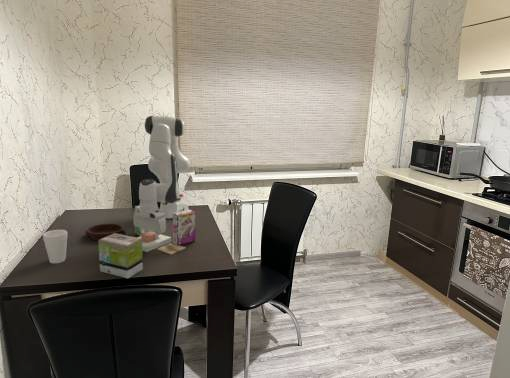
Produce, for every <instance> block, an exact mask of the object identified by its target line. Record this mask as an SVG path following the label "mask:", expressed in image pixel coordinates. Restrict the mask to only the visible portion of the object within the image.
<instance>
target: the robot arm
mask: <svg viewBox="0 0 510 378" xmlns="http://www.w3.org/2000/svg"><path fill="white" fill-rule="evenodd" d="M144 131H145V132H146V133H147V134H149V136H150V138H149V143H148V152H149V155H150V156H151V157H149V158H150V159H149V160H148V164H147V166H148V169H149V171H150V172H151V173H153V175H155V176H156V177H157V179H158V181H159V183H158V182H157V181H156V180H155V179H154V178H153V179H151V178H146V179H143V180H141V181H140V183H139V187H138V188H139V189H138V199H139V206H140V210H139V209H136V210H135V209H134V214H133V221H132V223H133V226H134V227H135V226H136V227H139V230H140V232H141V235H143V234H146V233H145V232H144V229H147V230H150V231H152V232H155V234H156V236H154V239H155V240H158V239H159V235H160V234H162V233H165V232H166V230H167V219H173V213H178V212H183V211H188V210H190V209H189V204H188V203H187V202H186V201H184V200H183V199H182V198H183V197H184V194H183V193H181V192H180V186H179V185H180V183H179V178H178V177H179V176H178V174H184V173H187V172H188V171H189V170H190V168H191V162H190V159H189V158H188V157H187V156H185V154H184V155H183V153H182V152H181V150H180V149H179V143H178V142H179V140H178V139H179V137H181V136H182V135H184V132H185V131H186V125H185V121H184V119H182V118H179V117H173V116H169V115H167V116H163V115H160V116H159V115H156V116H155V115H149V116H147V117H146V119H145V121H144ZM158 203H160V208H159V205H158Z"/></svg>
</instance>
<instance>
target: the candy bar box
mask: <svg viewBox="0 0 510 378" xmlns="http://www.w3.org/2000/svg"><path fill="white" fill-rule="evenodd" d="M196 213H197V212H196V211H193V210H192V209H189V210H188V211H183V212H178V213H173V218H172V243H173V244H176V245H180V246H183V245H186V244H189V243H193V242H195V241H196V215H197V214H196Z"/></svg>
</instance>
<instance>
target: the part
mask: <svg viewBox="0 0 510 378" xmlns="http://www.w3.org/2000/svg"><path fill="white" fill-rule="evenodd" d="M154 236H156V234H155V232H154V231H151V232H148V233H146V234H143V235H141V239H142V242H145V243H149V242H152V241H155V239H154Z"/></svg>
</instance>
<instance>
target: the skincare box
mask: <svg viewBox="0 0 510 378" xmlns="http://www.w3.org/2000/svg"><path fill="white" fill-rule="evenodd" d="M136 209H139V210H140V205H135V206H134V211H135V210H136ZM134 231H135V232H134V233H135V234H137V235H138V236H139V237H140V236H141V232H140V230H139V227H136V226H134ZM144 232H145V233H148V232H151V231H150V230H147V229H144Z"/></svg>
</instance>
